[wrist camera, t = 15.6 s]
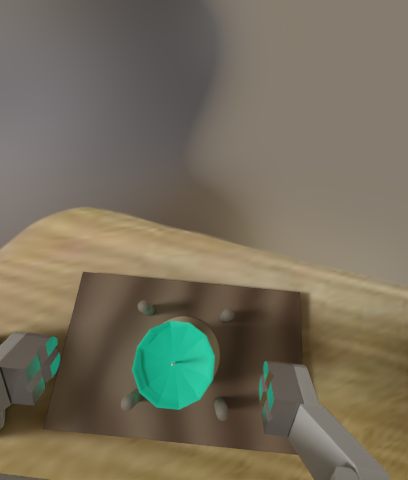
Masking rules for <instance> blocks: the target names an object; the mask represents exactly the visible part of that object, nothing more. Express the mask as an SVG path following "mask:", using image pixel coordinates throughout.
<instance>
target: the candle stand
mask: <svg viewBox="0 0 408 480" xmlns="http://www.w3.org/2000/svg"><path fill="white" fill-rule="evenodd" d="M168 321H178V322H188V323H191V324H192V325H193V326H195V327H196V328H197V329H199V330H200V331H201V332H202V333H204V334H205V335H206V336H207V338H208V341H209V343H210V346H211V348H212V350H213V353H214V355H215V361H214V373H213V381H212V382H211V384H210V385H209V387H208V388H207V390H206V391H205V393H204V394H203V396H202V397H201V399H200V400H198V401H196V402H194V403H192V404H190V405H188V406H186V407H184V408H182V409H180V410H177V409H167V408H157V407H156V406H154V405H153V404H152V403H151V402H150V401H149V400H147V399H146V398H145V397H144V396H143V395H142V394H140V393H139V390H138V387H137V384H136V381H135V378H134V375H133V372H132V368H133V363H134V359H135V354H136V350H137V346H138V345H139V344H140V342H141V341H142V339H143V338H144V337H145V335H146V334H147V333H148V331H149V330H150V329H151V328H154V327H156V326H158V325H161V324H163V323H166V322H168ZM265 361H272V362H282V363H291V364H300V365H302V339H301V309H300V292H290V291H280V290H269V289H258V288H248V287H237V286H227V285H216V284H206V283H195V282H184V281H174V280H163V279H153V278H142V277H132V276H121V275H111V274H100V273H89V272H83V274H82V278H81V282H80V286H79V290H78V294H77V298H76V302H75V306H74V310H73V314H72V318H71V322H70V325H69V329H68V333H67V337H66V341H65V345H64V349H63V353H62V357H61V361H60V365H59V369H58V373H57V377H56V381H55V385H54V389H53V393H52V397H51V400H50V404H49V408H48V412H47V416H46V420H45V424H44V428H43V429H51V430H60V431H70V432H80V433H90V434H100V435H109V436H119V437H129V438H139V439H149V440H158V441H168V442H178V443H188V444H198V445H207V446H217V447H227V448H237V449H246V450H256V451H266V452H276V453H286V454H295V455H298V454H297V452H296V450H295V449H294V447H293V446H292V444H291V443H290V441H289V440H288V437H283V436H276V435H270V434H264V429H263V422H262V411H263V406H262V405H261V403H260V398H259V382H260V378H261V376H262V375H263V374H264V372H263V366H264V362H265Z"/></svg>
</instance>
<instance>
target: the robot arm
mask: <svg viewBox="0 0 408 480" xmlns="http://www.w3.org/2000/svg"><path fill="white" fill-rule="evenodd" d="M57 344H58V342H57V338H56V337H54V336H47V335H40V334H33V333H25V332H14V333H12V334H11V335H10V336H9V337H8V338H7V339H6V340H5V341H4V342H3V343H2V344H1V345H0V413H1V412H2V411H3V410H5V409H6V408H7V407H9V406H10V405H11V403H12V404H23V405H35V404H36V402H37V401H38V399H39V398H40V396H41V395H42V393H43V392H44V390H45V382H47V381H49V380H50V379H52V378H53V376H54V375H55V373H56V372H57V369H58V366H59V364H60V352H59V351H58V350H57V349H56V348H55V347H56V346H57ZM263 372H264V374H263V375H262V376H261V378H260V382H259V398H260V403H261V405H262V406H263V411H262V422H263V429H264V434H270V435H276V436H283V437H288V440H289V441H290V443H291V444H292V446H293V447H294V449H295V450H296V452H297V454H298V455H299V457H300V458H301V460H302V461H303V463H304V464H305V466H306V467H307V469H308V471H309V472H310V474H311V475H312V477H313V478H314V480H391V479H390V477H389V475H388V473H387V471H386V470H385V469H384V468H383V467H382V466H381V465H380V464H379V463H378V462H377V461H376V460H375V459H374V458H373V457H372V456H371V455H370V454H369V452H368V451H367V450H366V449H365V448H364V447H363V446H362V445H361V444H360V443H359V442H358V441H357V440H356V439H355V438H354V437H353V436H352V435H351V434H350V433H349V432H348V431H347V430H346V429H345V427H344V426H343V425H342V424H341V423H340V422H339V421H338V420H337V419H336V418H335V417H334V416H333V415H332V414H331V413H330V412H329V411H328V410H327V409H326V408H325V407H324V406H320V404H319V401H318V398H317V395H316V392H315V389H314V386H313V383H312V380H311V378H310V375H309V372H308V369H307V367H306V366H305V365H300V364H291V363H282V362H272V361H265V362H264V366H263ZM0 480H48V479H40V478H32V477H25V476H17V475H9V474H1V473H0Z"/></svg>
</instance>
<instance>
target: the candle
mask: <svg viewBox="0 0 408 480" xmlns="http://www.w3.org/2000/svg"><path fill="white" fill-rule="evenodd" d="M214 361H215V355H214V353H213V350H212V348H211V346H210V343H209V341H208V338H207V336H206V335H205V334H204V333H202V332H201V331H200V330H199V329H197V328H196V327H195V326H193V325H192V324H191V323H188V322H178V321H168V322H166V323H163V324H161V325H158V326H156V327H154V328H151V329H150V330H149V331H148V333H147V334H146V335H145V337H144V338H143V339H142V341H141V342H140V344H139V345H138V346H137V350H136V354H135V359H134V363H133V368H132V372H133V375H134V378H135V381H136V384H137V387H138V390H139V393H140V394H142V395H143V396H144V397H145V398H146V399H147V400H149V401H150V402H151V403H152V404H153V405H154V406H156V407H157V408H167V409H177V410H180V409H182V408H184V407H186V406H188V405H190V404H192V403H194V402H196V401H198V400H200V399H201V397H202V396H203V394H204V393H205V391H206V390H207V388H208V387H209V385H210V384H211V382H212V381H213V373H214Z"/></svg>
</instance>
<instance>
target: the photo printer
mask: <svg viewBox="0 0 408 480" xmlns="http://www.w3.org/2000/svg"><path fill="white" fill-rule="evenodd" d="M4 423H5V410H3V411H2V412H1V413H0V429H1V428H2V427H3V426H4Z"/></svg>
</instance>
